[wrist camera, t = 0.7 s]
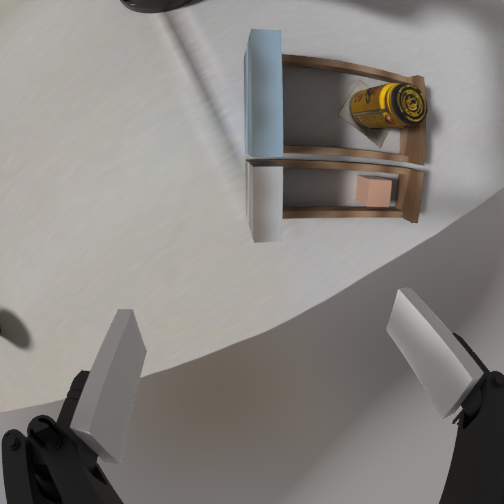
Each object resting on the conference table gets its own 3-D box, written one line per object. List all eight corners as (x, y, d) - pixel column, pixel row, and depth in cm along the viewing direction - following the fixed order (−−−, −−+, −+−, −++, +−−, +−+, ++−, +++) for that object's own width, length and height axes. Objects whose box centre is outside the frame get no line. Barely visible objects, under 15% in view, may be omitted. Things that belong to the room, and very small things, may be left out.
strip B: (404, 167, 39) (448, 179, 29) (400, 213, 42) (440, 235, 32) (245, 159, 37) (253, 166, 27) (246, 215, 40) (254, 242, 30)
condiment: (359, 79, 33) (403, 65, 22) (398, 113, 35) (447, 112, 24) (337, 114, 35) (379, 108, 24) (378, 147, 37) (426, 154, 26)
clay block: (357, 175, 39) (369, 179, 35) (378, 176, 39) (392, 180, 36) (355, 200, 41) (367, 206, 37) (376, 200, 41) (389, 207, 37)
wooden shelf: (405, 81, 33) (448, 73, 23) (405, 161, 38) (449, 171, 28) (244, 57, 31) (251, 29, 21) (245, 152, 36) (253, 157, 26)
